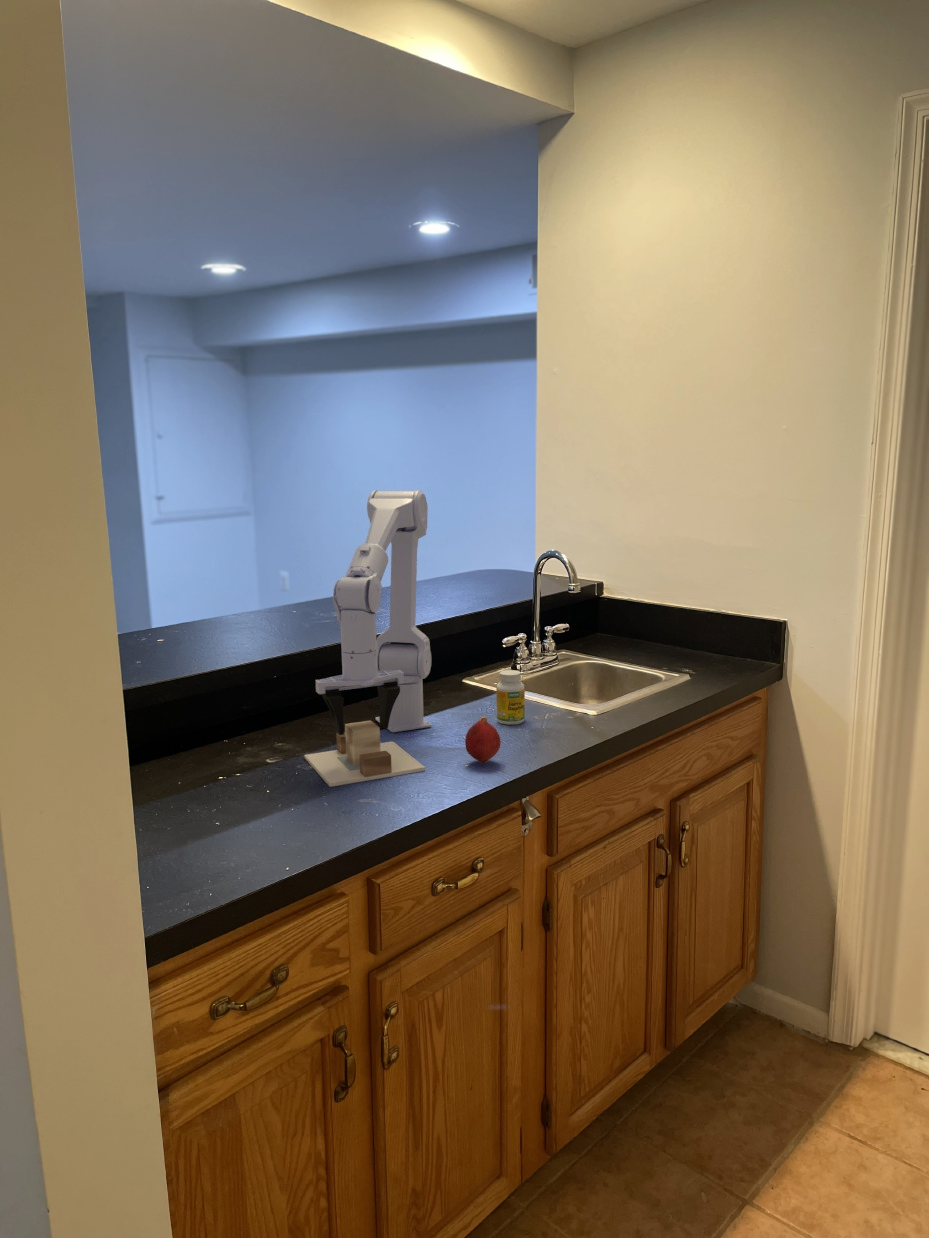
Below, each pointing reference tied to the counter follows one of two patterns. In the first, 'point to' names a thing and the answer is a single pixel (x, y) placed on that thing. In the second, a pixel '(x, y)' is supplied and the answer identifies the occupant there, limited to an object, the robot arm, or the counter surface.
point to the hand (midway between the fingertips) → (362, 730)
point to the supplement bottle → (510, 698)
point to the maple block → (361, 740)
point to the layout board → (344, 772)
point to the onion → (482, 741)
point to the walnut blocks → (368, 759)
